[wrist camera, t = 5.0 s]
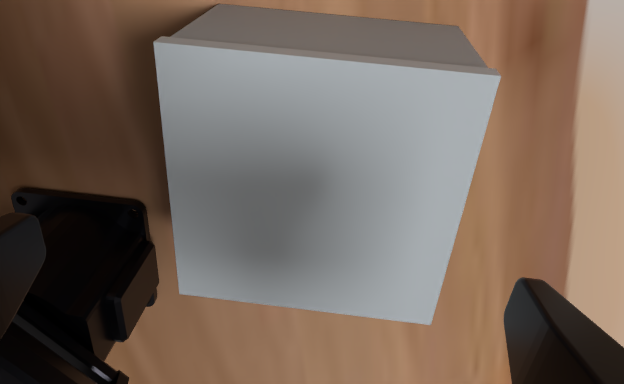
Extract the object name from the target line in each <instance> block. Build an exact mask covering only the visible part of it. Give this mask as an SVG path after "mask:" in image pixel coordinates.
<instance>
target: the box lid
mask: <svg viewBox="0 0 624 384" xmlns="http://www.w3.org/2000/svg"><path fill="white" fill-rule="evenodd" d="M153 43H154V53H155V62H156V72H157V82H158V91H159V101H160V111H161V120H162V130H163V140H164V149H165V159H166V169H167V178H168V188H169V198H170V207H171V217H172V226H173V236H174V246H175V255H176V265H177V275H178V284H179V294H184V295H192V296H201V297H209V298H217V299H225V300H233V301H241V302H249V303H257V304H265V305H273V306H281V307H289V308H297V309H306V310H314V311H322V312H330V313H338V314H346V315H354V316H362V317H370V318H378V319H386V320H394V321H403V322H411V323H419V324H427V325H431V322H432V319H433V315H434V312H435V308H436V305H437V301H438V297H439V294H440V290H441V287H442V283H443V280H444V276H445V273H446V269H447V266H448V262H449V258H450V255H451V251H452V248H453V244H454V241H455V237H456V234H457V230H458V227H459V223H460V219H461V216H462V212H463V209H464V205H465V202H466V198H467V195H468V191H469V188H470V184H471V180H472V177H473V173H474V170H475V166H476V163H477V159H478V156H479V152H480V149H481V145H482V142H483V138H484V134H485V131H486V127H487V124H488V120H489V117H490V113H491V110H492V106H493V103H494V99H495V95H496V92H497V88H498V85H499V81H500V78H501V75H500V74H499V73H498V71H497V70H496V69H492V68H482V67H472V66H462V65H451V64H441V63H431V62H421V61H410V60H400V59H390V58H380V57H369V56H359V55H349V54H339V53H328V52H318V51H308V50H298V49H287V48H277V47H267V46H257V45H246V44H236V43H226V42H216V41H205V40H195V39H185V38H175V37H164V36H161V37H160V38H158V39H157V40H155V41H154V42H153Z"/></svg>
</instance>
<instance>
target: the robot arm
mask: <svg viewBox="0 0 624 384" xmlns="http://www.w3.org/2000/svg"><path fill="white" fill-rule="evenodd" d="M22 197H23V198H25V199H26V200H24V199H23V198H22ZM11 199H12V203H13V207H14V210H15V213H9V214H6V215H4V216H1V217H0V384H128V381H129V377H128V376H126V375H125V374H124V373H122V372H121V371H120V370H119V371H116V370H115V369H113V368H112V367H111V366H109V365H108V364H107V363H105V362H104V361H105V359H106V358H107V356H108V354H109V352H110V351H111V349H112V347H113V345H114V344H115V342H124V341H125V340H127V339H128V338H129V336H130V334H131V333H132V331H133V329H134V327H135V325H136V323H137V322H138V320H139V318H140V316H141V314H142V313H143V311H144V309H145V307H150V306H152V305H153V304H154V303H155V301H156V299H157V289H156V287H157V285H158V283H159V277H158V269H157V260H156V252H155V246H154V244H153V243H152V241H150V233H149V225H148V217H147V210H146V207H145V206H144V205H143V204H142V203H141V202H139V201H134V200H126V199H117V198H108V197H100V196H91V195H82V194H73V193H65V192H56V191H47V190H39V189H30V188H20V189H18V190H17V191H16V192H14V193H13V194H12V196H11ZM132 209H133V210H136V211H137V212H138V214H136V213H134V212H133V211H132ZM504 328H505V335H506V343H507V350H508V358H509V365H510V373H511V380H512V384H624V348H623V347H622V346H621V345H620V344H618V343H617V342H616V341H615V340H614V339H613V338H612V337H610V336H609V335H608V334H607V333H605V332H604V331H603V330H602V329H601V328H600V327H598V326H597V325H596V324H595V323H594V322H593V321H591V320H590V319H589V318H588V317H587V316H585V315H584V314H583V313H582V312H581V311H579V310H578V309H577V308H576V307H575V306H574V305H572V304H571V303H570V302H569V301H568V300H566V299H565V298H564V297H563V296H562V295H560V294H559V293H558V292H557V291H556V290H555V289H553V288H552V287H551V286H550V285H549V284H547V283H546V282H545V281H543V280H540V279H532V278H524V277H522V278H520V279H518V280H517V282H516V283H515V286H514V288H513V291H512V293H511V296H510V298H509V301H508V304H507V306H506V309H505V312H504Z"/></svg>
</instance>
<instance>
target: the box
mask: <svg viewBox="0 0 624 384" xmlns="http://www.w3.org/2000/svg"><path fill="white" fill-rule="evenodd" d="M171 37H175V38H185V39H195V40H205V41H216V42H226V43H236V44H246V45H257V46H267V47H277V48H287V49H298V50H308V51H318V52H328V53H339V54H349V55H359V56H369V57H380V58H390V59H400V60H410V61H421V62H431V63H441V64H451V65H462V66H472V67H482V68H488V67H487V66H486V64H485V63H484V61H483V60H482V59H481V57H480V56H479V54H478V53H477V52H476V50H475V49H474V47H473V46H472V45H471V43H470V42H469V41H468V39H467V38H466V36H465V35H464V34H463V32H462V31H461V29H460V28H459V27H458V26H450V25H439V24H429V23H418V22H407V21H397V20H386V19H375V18H365V17H354V16H343V15H333V14H322V13H311V12H301V11H290V10H279V9H269V8H258V7H247V6H237V5H226V4H218V5H216V6H215V7H213V8H212V9H210V10H209V11H207V12H206V13H204V14H203V15H201V16H200V17H199V18H197V19H196V20H194V21H193V22H191V23H190V24H188V25H187V26H185V27H184V28H182V29H181V30H179V31H178V32H176V33H175V34H174V35H172V36H171Z"/></svg>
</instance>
